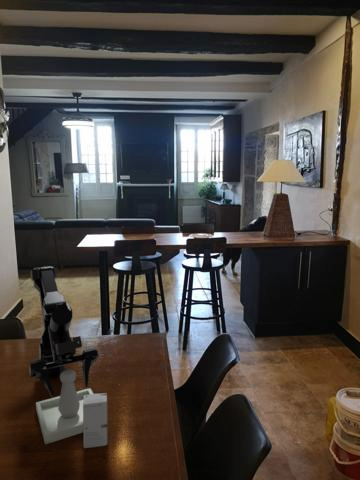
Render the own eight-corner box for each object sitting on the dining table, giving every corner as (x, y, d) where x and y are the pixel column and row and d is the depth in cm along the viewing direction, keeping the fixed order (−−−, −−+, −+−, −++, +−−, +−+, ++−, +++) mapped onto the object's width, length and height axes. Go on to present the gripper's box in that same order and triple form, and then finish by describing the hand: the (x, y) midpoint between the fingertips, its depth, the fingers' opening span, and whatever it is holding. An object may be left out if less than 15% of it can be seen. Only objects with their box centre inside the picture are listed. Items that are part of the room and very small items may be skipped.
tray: (36, 410, 107) (35, 402, 107) (90, 395, 115) (90, 388, 114) (45, 444, 93) (44, 436, 93) (106, 424, 101) (105, 417, 100)
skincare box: (83, 449, 92) (81, 405, 90) (83, 437, 96) (82, 394, 94) (108, 445, 93) (107, 401, 91) (107, 433, 97) (106, 391, 95)
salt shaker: (65, 423, 100) (63, 380, 98) (54, 414, 104) (52, 372, 102) (84, 413, 104) (82, 371, 102) (72, 405, 108) (71, 364, 106)
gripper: (27, 334, 99) (35, 392, 91) (96, 322, 108) (108, 374, 100) (26, 349, 107) (33, 404, 99) (89, 337, 116) (100, 386, 108)
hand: (69, 392), depth 101 cm, fingers open, 9 cm apart
